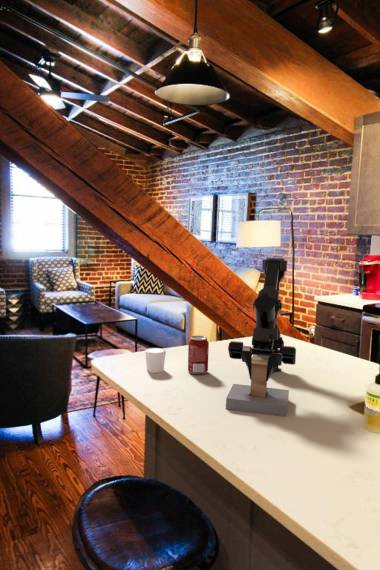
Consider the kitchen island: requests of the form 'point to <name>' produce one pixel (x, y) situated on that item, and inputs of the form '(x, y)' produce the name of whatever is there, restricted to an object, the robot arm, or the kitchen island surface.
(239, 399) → the socket board
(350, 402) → the kitchen island surface
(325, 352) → the kitchen island surface
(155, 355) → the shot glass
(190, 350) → the soda can
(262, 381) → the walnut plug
